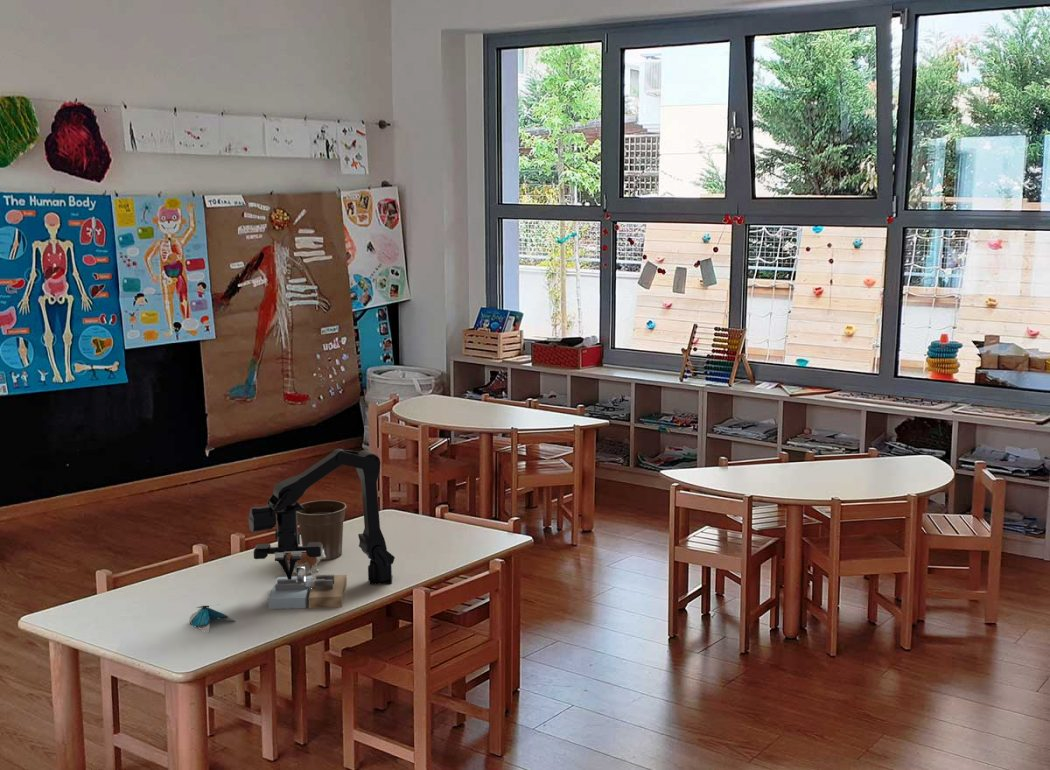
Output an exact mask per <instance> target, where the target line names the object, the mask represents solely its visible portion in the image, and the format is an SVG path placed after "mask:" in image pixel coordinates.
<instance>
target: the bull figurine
mask: <svg viewBox="0 0 1050 770" xmlns="http://www.w3.org/2000/svg"><path fill="white" fill-rule="evenodd" d="M324 550H325V548H324V549H323V551H322V554H321V556H320V557H309V556H308V555H307V553H303V555H302V557H301V560H297V562H296V563H297V565H298V564H299V566H304V565H308V569H309V570H308V572H307V573H308V574H309V573H313V572H312V569H313V568H314V572H316V571H319V572H320V570H319V569H318V567H317V565H318V564H319V563H320V562H321V561H320V559H325V558H326V556H325V554H324ZM290 558H291V553H288V564H289V567H290ZM295 573H297V568H296V566H295V567H294V571H293V574H295Z"/></svg>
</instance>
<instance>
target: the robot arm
mask: <svg viewBox="0 0 1050 770" xmlns="http://www.w3.org/2000/svg"><path fill="white" fill-rule="evenodd" d="M381 464H382V463H381V459H380V457H379V456H378V455H377V454H375V453H373V452H371V451H370V450H368V449H367V450H366V449H362V450H360V451H356V450H355V451H354V450H348V449H342V448H335V449H334V450H333V451H332V452H331V453H329V454H328V455H326V456H325V457H324V458H322V459H321V460H319V461H317V462H316V463H315V464H313V465H312V466H310V467H308V468H307V469H306V470H304V471H302V472H300V474H297V475H295V476H291V477H288V478H286V479H284V480H281V481H279V482H277V483H276V484H275V485H274V487H273V490H272V491H273V493H272V495H271V496H270V498H269V499H268V500H267V501H266V505H264V506H252V507H250V508H249V514H248V515H249V516H248V517H247V519H248V527H249V530H250V532H251V533H255V532H261V531H262V532H263V531H267V530H268V531H269V530H273V528H276V529H275V530H274V531H275V532H274V538H275V541H277V546H273V547H271V543H258V544H256V546H255V547H254V548H253V559H255V560H265V559H266V558H267V557H268V555H274V562H278V563H279V565H280V566H281V568H282V569H283V572H284V574H285V577H287V578H288V580H291V578H292V577H293V574H294V573H293V571H294V567H295V568H296V563H297V560H301V557H302V555H303V553H307V555H308V556H309V557H320V556H321V554H322V551H323V545H322V543H321V542H308V545H307V546H302V545H301V534H300V531H299V530H298V529H299V528H298V526H299V524H298V521H297V511H300V510H304V507H302V506H301V505H300V504H301V503H299V499H301V497H303V496H304V494H305V493H306V491H307V490H308V489H309V488H310V487H311V486H313V485H315V484H317V482H319V481H320V480H322V479H323V478H325V477H326V476H328V475H329V474H331V473H333V472H334V471H335V470H338V468H339V467H341V466H343V465H345V466H348V467H352V468H355V470H356V473H357V475H358V478H359V479H360V484H361V495H362V496H361V497H362V508H363V511H362V512H363V520H364V521H363V522H364V523H363V524H364V529H363V532H362V533H358V536H357V537H358V539H359V544H358V547H359V548H360V550H361V551H362V553H364V554H365V555H366V556H367V558H368V559H369V565H368V566H367V575H368V576H367V579H368V581H369V585H390V584H392V583H393V578H394V577H393V573H392V572H393V570H392V569H393V568H392V566H393V564H394V561H395V556H394V555H393V554H392V553H391V552H389V551H388V548H387V544H386V540H385V537H384V535H383V532H382V529H381V524H380V509H379V498H378V497H379V496H378V480H379V477H380V473H381ZM288 553H291V558H290V567H289V564H288V562H289V561H288Z"/></svg>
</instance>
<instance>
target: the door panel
mask: <svg viewBox="0 0 1050 770" xmlns="http://www.w3.org/2000/svg"><path fill="white" fill-rule="evenodd" d="M306 579H313V575H306ZM296 580H297V575H296V576H292V578H291V580H288V578H287V576H278V577H277V578H276V581H275V582H274V585H273V587H272V590H271V591H270V595H269V597H268V599H267V600H268V609H269V610H282V608H283V609H284V608H285V609H284V610H286V609H288V610H290V609H291V608H292V609H306V607H307V604H308V602H309V595H310V592H311V588H312V587H304V583H296Z"/></svg>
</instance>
